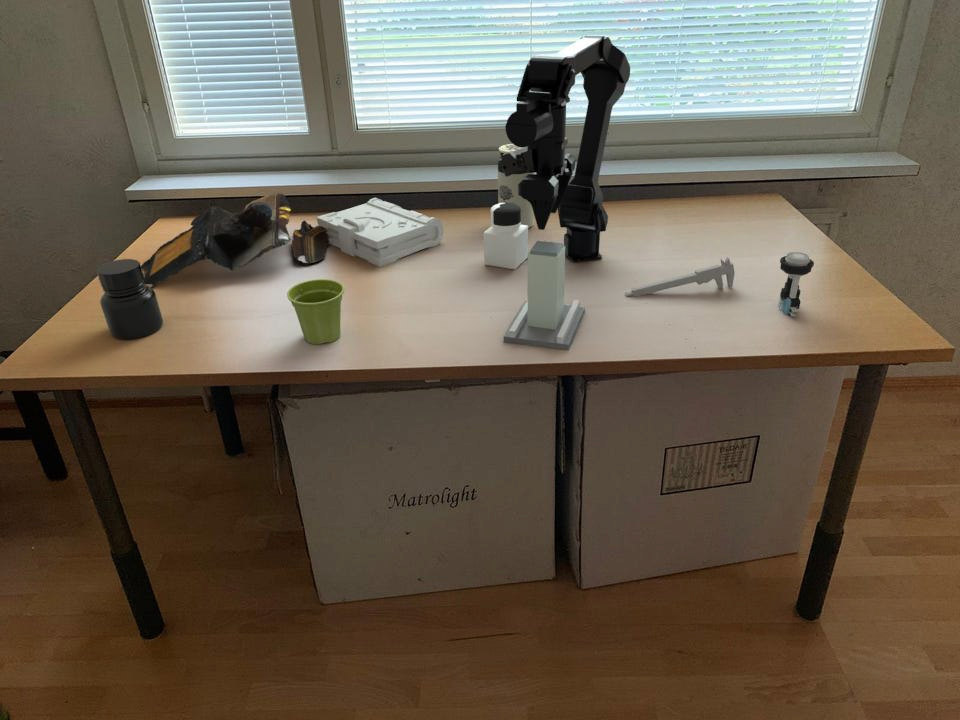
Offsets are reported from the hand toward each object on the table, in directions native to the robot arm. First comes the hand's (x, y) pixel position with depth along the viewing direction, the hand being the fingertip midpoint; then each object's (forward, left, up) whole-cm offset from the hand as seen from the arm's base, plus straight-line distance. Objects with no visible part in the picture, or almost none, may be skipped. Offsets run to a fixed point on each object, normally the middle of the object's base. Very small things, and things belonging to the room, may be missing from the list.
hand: (547, 220), depth 131 cm
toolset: (+59, -36, -14) cm, 70 cm away
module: (+5, +16, -12) cm, 21 cm away
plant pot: (+43, +8, -13) cm, 46 cm away
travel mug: (-4, -34, -13) cm, 37 cm away
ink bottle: (+75, -5, -13) cm, 76 cm away
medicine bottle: (+4, -14, -13) cm, 20 cm away
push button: (-37, +23, -13) cm, 46 cm away
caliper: (-23, +10, -14) cm, 28 cm away
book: (+29, -36, -14) cm, 48 cm away
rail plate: (+5, +16, -13) cm, 21 cm away
